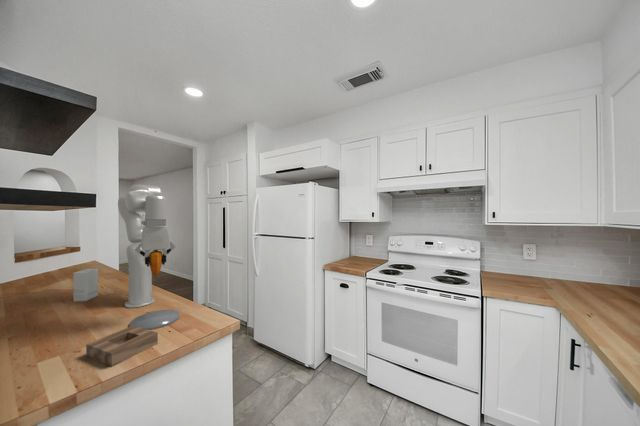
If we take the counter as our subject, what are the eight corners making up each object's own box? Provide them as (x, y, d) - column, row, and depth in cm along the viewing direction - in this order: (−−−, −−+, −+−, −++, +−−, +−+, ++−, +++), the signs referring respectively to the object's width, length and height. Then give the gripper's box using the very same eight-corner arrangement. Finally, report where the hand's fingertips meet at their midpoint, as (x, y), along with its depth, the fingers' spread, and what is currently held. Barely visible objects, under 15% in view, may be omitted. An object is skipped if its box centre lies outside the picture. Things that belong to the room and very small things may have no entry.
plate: (119, 325, 99) (119, 323, 99) (162, 309, 116) (162, 307, 116) (148, 334, 93) (148, 331, 93) (188, 315, 109) (188, 313, 109)
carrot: (147, 276, 104) (147, 242, 104) (160, 274, 108) (160, 241, 108) (150, 279, 101) (150, 243, 101) (164, 276, 104) (164, 242, 104)
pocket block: (86, 356, 78) (86, 344, 78) (133, 335, 91) (133, 325, 91) (111, 366, 73) (111, 353, 73) (157, 343, 86) (157, 332, 86)
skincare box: (86, 296, 134) (86, 268, 134) (99, 295, 134) (99, 268, 134) (72, 301, 125) (72, 272, 125) (86, 301, 126) (86, 272, 126)
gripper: (130, 224, 96) (131, 269, 96) (179, 223, 106) (179, 264, 107) (131, 223, 102) (131, 266, 102) (177, 222, 112) (177, 261, 112)
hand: (155, 264), depth 104 cm, fingers closed on carrot, 4 cm apart
